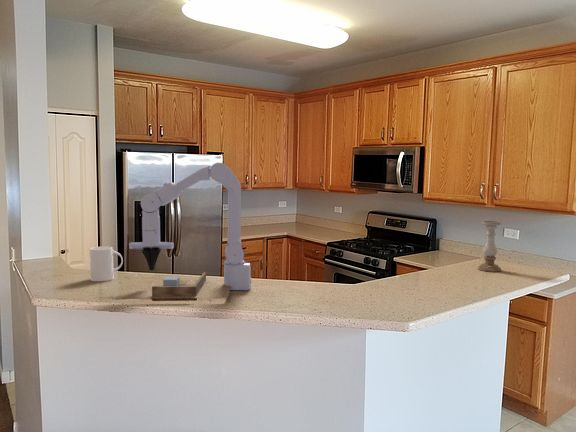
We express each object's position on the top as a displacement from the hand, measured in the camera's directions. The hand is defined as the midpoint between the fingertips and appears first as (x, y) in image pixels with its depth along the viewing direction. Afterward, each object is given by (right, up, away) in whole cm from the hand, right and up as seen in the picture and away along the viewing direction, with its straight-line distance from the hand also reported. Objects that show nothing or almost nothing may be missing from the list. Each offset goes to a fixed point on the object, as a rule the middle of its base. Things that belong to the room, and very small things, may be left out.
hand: (152, 269), depth 154 cm
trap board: (+10, -8, 0) cm, 12 cm away
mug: (-23, -6, +19) cm, 30 cm away
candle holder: (+131, -5, +35) cm, 135 cm away
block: (+6, -6, +1) cm, 9 cm away
